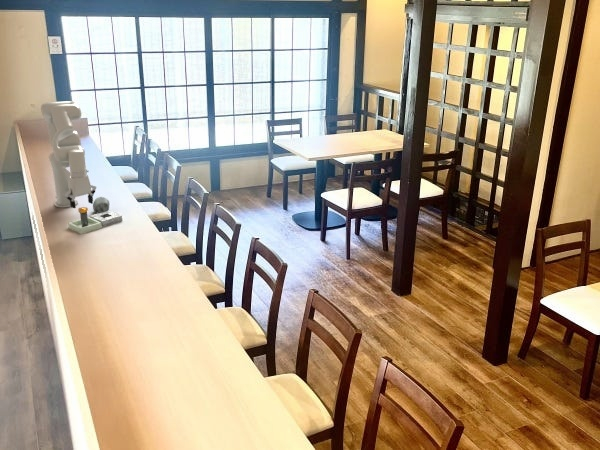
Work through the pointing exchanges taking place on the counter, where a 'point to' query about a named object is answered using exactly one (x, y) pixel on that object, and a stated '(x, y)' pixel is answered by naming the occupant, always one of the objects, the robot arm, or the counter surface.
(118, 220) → the grey slotted block
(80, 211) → the pin
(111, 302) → the counter surface
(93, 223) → the tray
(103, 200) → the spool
